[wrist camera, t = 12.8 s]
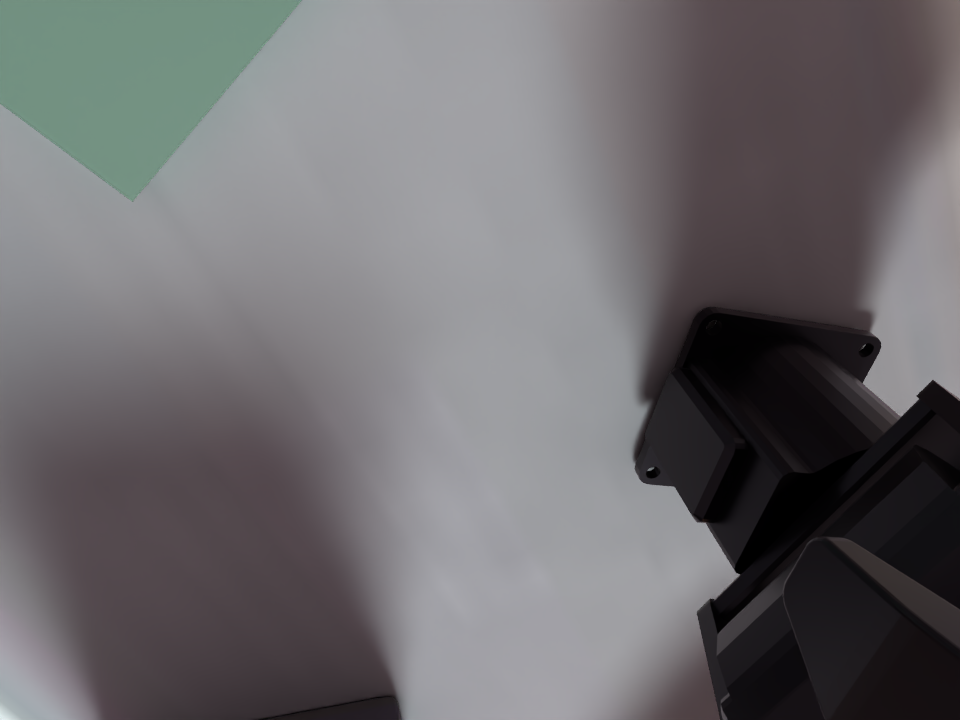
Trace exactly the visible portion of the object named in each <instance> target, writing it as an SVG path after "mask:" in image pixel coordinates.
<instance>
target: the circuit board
mask: <svg viewBox="0 0 960 720" xmlns="http://www.w3.org/2000/svg"><path fill="white" fill-rule="evenodd" d="M301 1H302V0H0V104H1V105H3V106H4V107H5V108H7V109H8V110H10V111H11V112H12V113H14V114H15V115H16V116H18V117H19V118H20V119H22V120H23V121H24V122H26V123H27V124H28V125H30V126H31V127H32V128H34V129H35V130H36V131H38V132H39V133H40V134H42V135H43V136H45V137H46V138H47V139H49V140H50V141H51V142H53V143H54V144H55V145H57V146H58V147H59V148H61V149H62V150H63V151H65V152H66V153H67V154H69V155H70V156H71V157H73V158H74V159H75V160H77V161H78V162H80V163H81V164H82V165H84V166H85V167H86V168H88V169H89V170H90V171H92V172H93V173H94V174H96V175H97V176H98V177H100V178H101V179H102V180H104V181H105V182H106V183H108V184H109V185H110V186H112V187H113V188H115V189H116V190H117V191H119V192H120V193H121V194H123V195H124V196H125V197H127V198H128V199H129V200H131V201H132V202H133V200H134V199H135V198H136V197H137V196H138V195H139V193H140V192H141V191H142V190H143V189H144V187H145V186H146V185H147V184H148V183H149V181H150V180H151V179H152V178H153V177H154V175H155V174H156V173H157V172H158V171H159V170H160V168H161V167H162V166H163V165H164V164H165V162H166V161H167V160H168V159H169V158H170V156H171V155H172V154H173V153H174V152H175V151H176V149H177V148H178V147H179V146H180V145H181V143H182V142H183V141H184V140H185V139H186V137H187V136H188V135H189V134H190V133H191V131H192V130H193V129H194V128H195V127H196V126H197V124H198V123H199V122H200V121H201V120H202V118H203V117H204V116H205V115H206V114H207V112H208V111H209V110H210V109H211V108H212V107H213V105H214V104H215V103H216V102H217V101H218V99H219V98H220V97H221V96H222V95H223V93H224V92H225V91H226V90H227V89H228V87H229V86H230V85H231V84H232V83H233V82H234V80H235V79H236V78H237V77H238V76H239V74H240V73H241V72H242V71H243V70H244V68H245V67H246V66H247V65H248V64H249V63H250V61H251V60H252V59H253V58H254V57H255V55H256V54H257V53H258V52H259V51H260V49H261V48H262V47H263V46H264V45H265V43H266V42H267V41H268V40H269V39H270V38H271V36H272V35H273V34H274V33H275V32H276V30H277V29H278V28H279V27H280V26H281V24H282V23H283V22H284V21H285V20H286V19H287V17H288V16H289V15H290V14H291V13H292V11H293V10H294V9H295V8H296V7H297V5H298V4H299V3H300V2H301Z"/></svg>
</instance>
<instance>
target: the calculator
mask: <svg viewBox="0 0 960 720" xmlns="http://www.w3.org/2000/svg"><path fill="white" fill-rule="evenodd" d="M264 720H401V715H400V711H399V706H398V703H397V701H396V700H395V699H394V698H392V697H381V698H376V699H371V700H365V701H360V702H355V703H349V704H344V705H339V706H333V707H328V708H323V709H317V710H312V711H307V712H301V713H296V714H291V715H285V716H280V717H275V718H269V719H264Z"/></svg>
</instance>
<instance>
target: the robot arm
mask: <svg viewBox="0 0 960 720" xmlns="http://www.w3.org/2000/svg"><path fill="white" fill-rule="evenodd" d="M713 320H716V324H715V325H714V326H713V327H712V328H710V329H706V326H707V325H708V324H709V323H710V322H711V321H713ZM865 344H866V345H865ZM863 345H865V347H864V348H863V349H861V350H860V351H859V349H860V348H861V347H862V346H863ZM880 349H881V342H880V340H879V339H878V338H877V337H876V336H874V335H873V334H872V333H870V332H868V331H864V330H858V329H851V328H845V327H839V326H832V325H826V324H819V323H813V322H807V321H800V320H794V319H787V318H781V317H775V316H768V315H762V314H755V313H749V312H743V311H736V310H730V309H723V308H717V307H708V308H706V309H703V310H702V311H700V312H699V313H698V314H697V315H696V317H695V319H694V321H693V323H692V325H691V328H690V330H689V333H688V335H687V338H686V340H685V343H684V345H683V348H682V350H681V353H680V355H679V358H678V360H677V363H676V365H675V368H674V369H673V370H672V371H671V372H670V373H669V375H668V377H667V380H666V382H665V385H664V387H663V390H662V392H661V395H660V397H659V400H658V402H657V405H656V407H655V410H654V412H653V415H652V417H651V420H650V422H649V425H648V427H647V430H646V432H645V438H646V439H645V442H644V444H643V447H642V449H641V452H640V454H639V457H638V459H637V462H636V465H635V470H636V473H637V475H638V477H639V479H640V480H641V481H642V482H643V483H646V484H651V485H663V486H674V487H675V488H676V490H677V491H678V493H679V495H680V496H681V498H682V500H683V501H684V503H685V505H686V506H687V508H688V510H689V511H690V513H691V515H692V516H693V518H694V519H695V520H696V521H697V522H701V523H706V524H707V526H708V528H709V529H710V531H711V533H712V534H713V536H714V537H715V539H716V541H717V542H718V544H719V546H720V547H721V549H722V551H723V552H724V554H725V555H726V557H727V559H728V560H729V562H730V564H731V565H732V567H733V568H734V570H735V572H736V573H738V574H740V575H739V576H738V577H737V578H736V579H735V580H734V581H733V582H732V583H731V584H730V585H729V586H728V587H727V588H726V589H725V590H724V591H723V592H722V593H721V594H720V595H719V596H718V597H717V598H716V599H715V600H714V599H710V600H709V601H708V602H707V603H706V604H704V605H703V606H702V607H701V608H700V609H699V610H698V611H697V616H698V620H699V625H700V629H701V634H702V638H703V643H704V647H705V652H706V656H707V661H708V666H709V670H710V675H711V679H712V684H713V688H714V693H715V697H716V702H717V706H718V711H719V715H720V720H960V399H959V398H957V397H956V396H955V395H953V394H952V393H951V392H949V391H948V390H946V389H945V388H944V387H942V386H941V385H939V384H938V383H937V382H935V381H934V380H932V381H931V382H930V383H929V384H928V385H927V386H926V387H925V388H924V389H923V390H922V391H921V392H920V393H919V394H918V395H917V397H918V398H919V400H918V401H917V402H916V403H915V404H914V405H913V406H912V407H911V408H910V409H909V410H908V411H907V412H906V413H905V414H904V415H903V416H902V417H900V416H899V415H898V414H897V413H896V412H895V411H893V410H892V409H891V408H890V407H889V406H888V405H886V404H885V403H884V402H883V401H882V400H881V399H880V398H878V397H877V396H876V395H875V394H874V393H873V392H872V391H870V390H869V389H868V388H867V387H866V386H865V385H864V384H862V383H863V381H864V379H865V377H866V376H867V374H868V372H869V370H870V368H871V366H872V365H873V363H874V361H875V359H876V357H877V355H878V354H879V352H880ZM651 467H655V468H654V469H652V470H651V471H647V470H648V469H649V468H651Z"/></svg>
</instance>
